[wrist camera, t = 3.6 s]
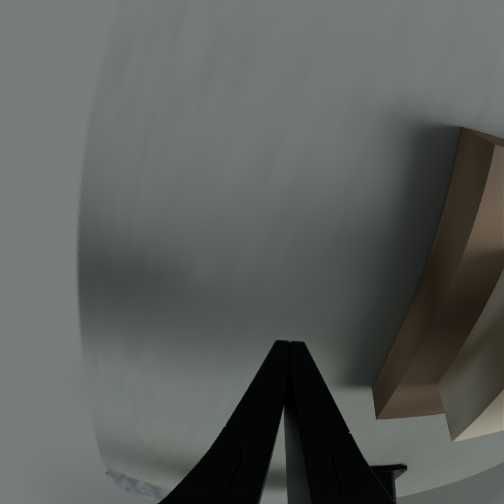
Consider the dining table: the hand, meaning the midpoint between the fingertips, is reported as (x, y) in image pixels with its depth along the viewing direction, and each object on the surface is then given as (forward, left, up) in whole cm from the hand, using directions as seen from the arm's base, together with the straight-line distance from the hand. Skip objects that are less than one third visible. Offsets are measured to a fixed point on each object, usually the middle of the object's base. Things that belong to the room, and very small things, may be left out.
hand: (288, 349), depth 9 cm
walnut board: (0, -11, -3) cm, 12 cm away
